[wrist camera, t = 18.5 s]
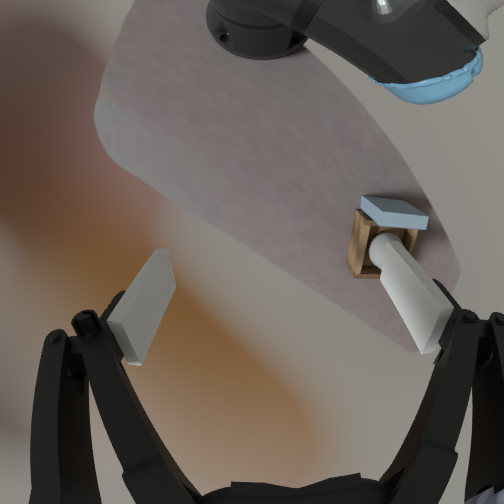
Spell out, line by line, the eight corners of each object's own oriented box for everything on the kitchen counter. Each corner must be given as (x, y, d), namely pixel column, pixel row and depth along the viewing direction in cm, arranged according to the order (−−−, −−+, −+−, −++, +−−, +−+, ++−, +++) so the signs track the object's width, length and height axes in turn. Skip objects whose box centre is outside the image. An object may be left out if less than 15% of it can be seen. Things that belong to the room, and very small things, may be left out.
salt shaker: (401, 236, 40) (442, 276, 28) (384, 264, 42) (417, 311, 30) (375, 221, 39) (414, 260, 27) (357, 252, 41) (388, 299, 29)
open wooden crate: (355, 209, 40) (366, 220, 36) (405, 214, 40) (419, 225, 35) (346, 263, 44) (354, 278, 40) (393, 264, 44) (404, 278, 40)
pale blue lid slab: (361, 195, 39) (382, 211, 32) (404, 200, 39) (428, 216, 32) (360, 207, 40) (379, 225, 33) (402, 212, 40) (425, 229, 33)
